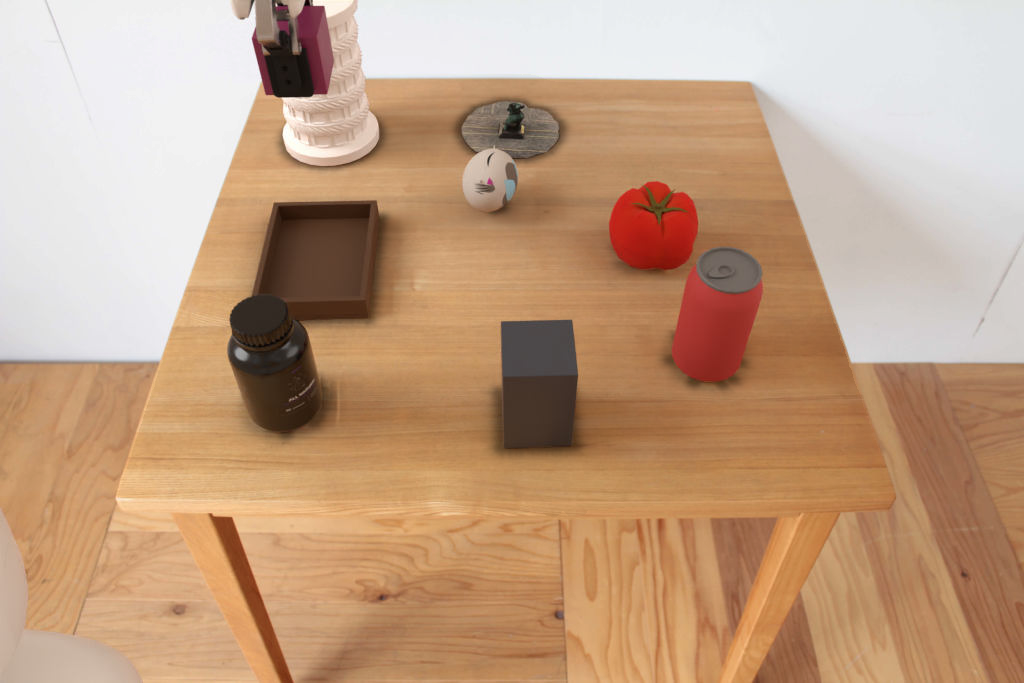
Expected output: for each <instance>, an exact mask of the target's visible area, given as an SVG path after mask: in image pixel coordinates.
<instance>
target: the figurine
mask: <svg viewBox="0 0 1024 683" xmlns="http://www.w3.org/2000/svg"><path fill="white" fill-rule="evenodd" d="M461 182H462V183H461V185H462V192H463V195H464V197H465V200H466V201H467V203H468V204H469V205H470V206H471V207H473V208H474V209H476V210H478V211H481V212H484V213H486V212H487V213H488V212H489V213H490V212H495V211H497V210H500V209H502V208H504V207H505V206H506V205H507V204H508V203H509V202H510V201H511V200H512V198H513V197H514V195H515V193H516V191H517V187H518V183H519V173H518V168H517V165H516V162H515V161H514V158H512V157H510V156H509V155H508V154H507V153H506V152H504V151H502V150H499V149H495V145H494V147H493V149H487V150H484V151H481V152H479V153H478V152H477V153H476V154H475V155H474V156H473V157H472V158H471V159H470V160H469V161H468V163H467V164H466V166H465V168H464V171H463V174H462V180H461Z"/></svg>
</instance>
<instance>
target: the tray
mask: <svg viewBox="0 0 1024 683" xmlns="http://www.w3.org/2000/svg"><path fill="white" fill-rule="evenodd" d="M267 225H268V226H267V229H266V234H265V238H264V243H263V247H262V251H261V255H260V258H259V263H258V268H257V271H256V275H255V276H256V277H255V280H254V284H253V288H252V293H251V296H254V295H258V294H260V295H261V294H266V295H267V294H270V295H275V296H276V297H280V299H283V300H284V302H286V304H287V306H288V307H289V311H290V314H291V316H292V317H293V318H294V319H296V320H297V321H299V320H300V321H303V320H305V321H307V320H343V319H345V320H346V319H369V317H370V309H371V302H372V293H373V292H372V291H373V290H372V289H373V282H374V273H375V264H376V256H377V254H376V253H377V244H378V236H379V226H380V213H379V206H378V200H377V199H374V200H373V199H372V200H369V199H368V200H324V201H323V200H322V201H321V200H320V201H278V202H276V201H275V202H273V204H272V208H271V212H270V217H269V221H268V224H267Z"/></svg>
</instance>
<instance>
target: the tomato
mask: <svg viewBox="0 0 1024 683" xmlns="http://www.w3.org/2000/svg"><path fill="white" fill-rule="evenodd" d="M675 191H676V188H674V189H673V190H672V189H670V187H669V186H668V184H667V183H665V182H661V181H658V180H654V181H647V182H646V183H644V184H641V186H640V187H639V188H634V187H632V188H630V189H628V190H626V191H625V192H623V193H622V195H620V196H619V197H618V199H617V200H616V202H615V203H614V205H613V208H612V210H611V214H610V216H609V217H610V218H609V222H608V231H609V234H608V235H609V241H610V244H611V246H612V249H613V251H614V253H615V254H616V256H617V258H618V259H619V260H621V261H622V262H623V263H624V264H626V265H627V266H629V267H631V268H634V269H638V270H654V269H658V270H662V271H671V270H677V269H678V268H680V267H682V266H683V265H685V264H686V263H687V262H688V261H689V260H690V259H691V256H692V253H693V250H694V243H695V241H696V239H697V236H698V233H699V218H698V212H697V208H696V204H695V201H694V200H693V199H692V198H691V196H689V194H688V193H685V192H684V191H679V192H675Z"/></svg>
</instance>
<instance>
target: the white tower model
mask: <svg viewBox="0 0 1024 683" xmlns="http://www.w3.org/2000/svg"><path fill="white" fill-rule="evenodd" d="M358 4H359V2H358V0H313V6H325V12H326V17H327V23H328V29H329V35H330V41H331V46H332V52H333V58H334V64H333V69H332V74H331V79H330V84H329V89H328V93H327V94H316V95H313V96H312V97H292V98H281V100H282V101H283V105H282V112H283V113H282V114H283V116H284V119H285V121H286V123H285V124H284V126H283V130H282V138H283V143H284V146H285V149H286V152H288V154H289V155H290V156H291V157H292V158H294V159H295V160H297V161H299V162H301V163H303V164H306V165H310V166H317V167H318V166H319V167H333V166H335V167H336V166H341V165H344V164H349V163H352V162H354V161H357V160H360V159H362V158H363V157H364V156H366V155H368V154H369V153H370V152H371V151H372V150H373V149H374V148H375V147H376V145H377V144H378V141H379V140H380V127H379V122H378V119H377V117H376V115H375V114H373V112H371V111H370V103H369V101H370V99H368V98H369V97H368V95H367V93H366V91H365V90H366V82H367V80H366V79H365V78H366V75H365V72H364V70H363V67H361V66H362V60H363V58H362V57H363V54H362V49H361V47H360V45H359V44H360V43H359V42H358V37H359V28H358V27H359V25H358V23H357V20H356V18H355V16H354V15H355V14H356V12H357V10H358V8H359V7H358V6H359V5H358ZM276 6H277V3H276Z"/></svg>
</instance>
